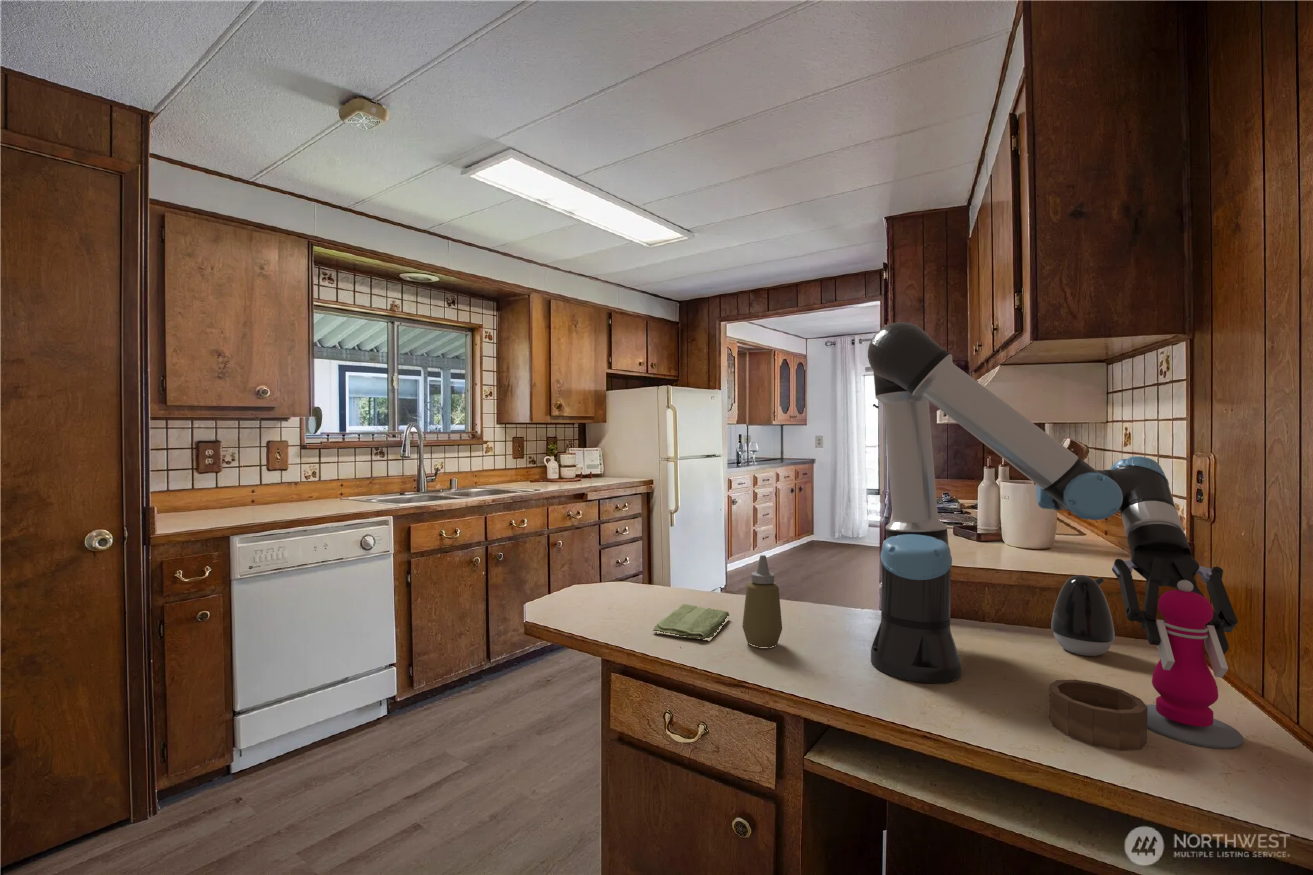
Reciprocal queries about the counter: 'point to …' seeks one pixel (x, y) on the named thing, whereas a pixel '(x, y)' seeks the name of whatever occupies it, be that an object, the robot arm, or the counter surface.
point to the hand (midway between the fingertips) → (1194, 668)
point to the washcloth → (692, 622)
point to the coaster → (1194, 731)
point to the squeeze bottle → (762, 608)
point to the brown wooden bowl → (1098, 714)
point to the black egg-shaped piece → (1083, 617)
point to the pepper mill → (1186, 659)
